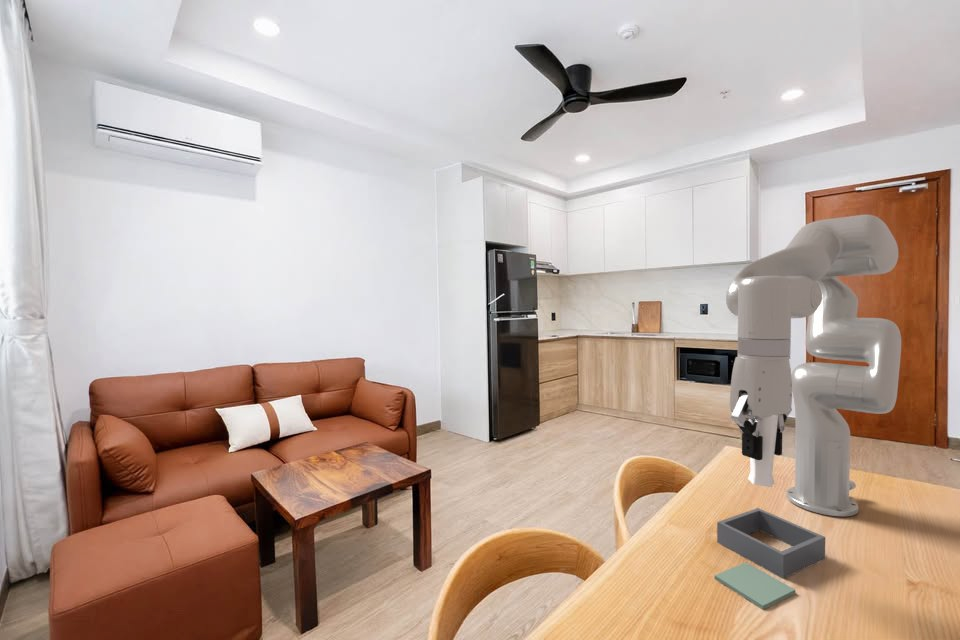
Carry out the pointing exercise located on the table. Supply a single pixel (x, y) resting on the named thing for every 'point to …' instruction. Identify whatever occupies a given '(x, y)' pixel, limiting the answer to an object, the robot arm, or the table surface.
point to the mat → (755, 585)
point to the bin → (781, 563)
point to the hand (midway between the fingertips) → (761, 454)
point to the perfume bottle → (765, 453)
